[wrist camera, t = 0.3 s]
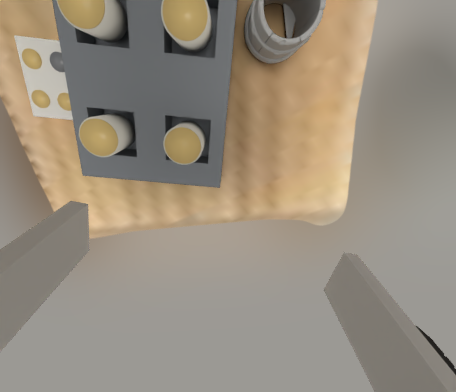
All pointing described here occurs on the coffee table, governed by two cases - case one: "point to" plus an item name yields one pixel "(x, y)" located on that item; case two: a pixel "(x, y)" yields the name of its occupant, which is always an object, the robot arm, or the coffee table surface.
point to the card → (44, 77)
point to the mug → (294, 15)
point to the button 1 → (96, 17)
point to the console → (151, 91)
